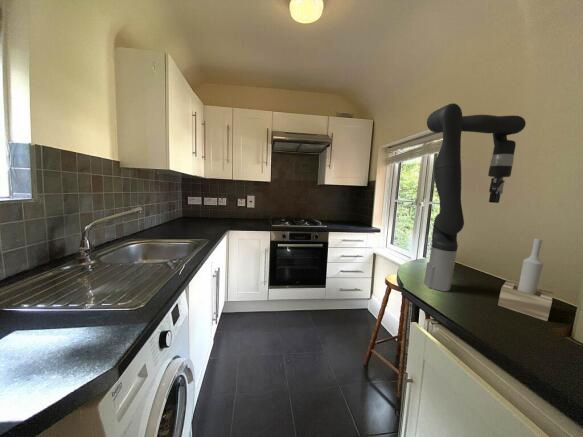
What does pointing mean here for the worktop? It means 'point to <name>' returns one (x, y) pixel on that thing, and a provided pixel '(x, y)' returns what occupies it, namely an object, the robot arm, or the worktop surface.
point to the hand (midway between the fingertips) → (493, 202)
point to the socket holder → (526, 301)
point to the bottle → (531, 270)
